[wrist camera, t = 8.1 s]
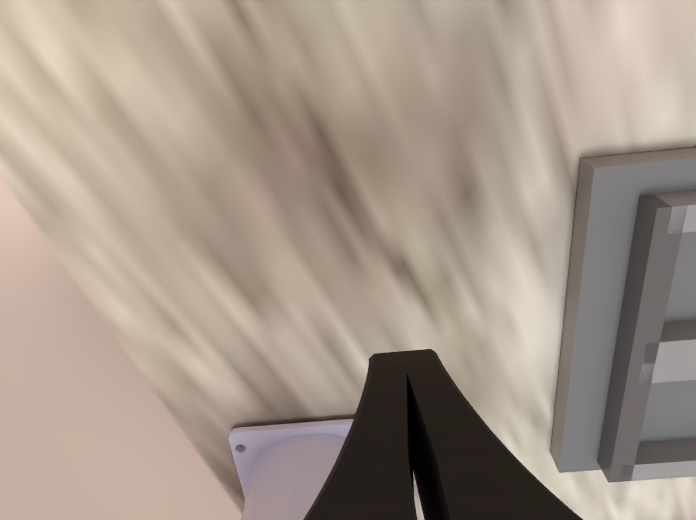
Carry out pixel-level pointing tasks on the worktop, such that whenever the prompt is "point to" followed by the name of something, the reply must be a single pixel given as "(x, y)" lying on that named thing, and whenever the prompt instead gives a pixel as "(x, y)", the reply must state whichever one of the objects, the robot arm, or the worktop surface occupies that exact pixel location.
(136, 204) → the worktop surface
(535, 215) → the worktop surface
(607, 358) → the gray compartment tray
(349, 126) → the worktop surface
